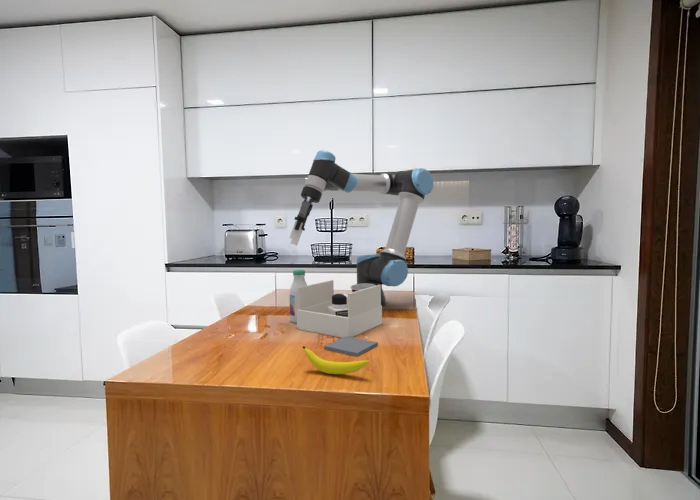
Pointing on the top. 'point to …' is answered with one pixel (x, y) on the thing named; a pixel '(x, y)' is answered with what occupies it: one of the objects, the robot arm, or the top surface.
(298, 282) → the milk bottle
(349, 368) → the banana
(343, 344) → the mat
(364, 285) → the plastic cup
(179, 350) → the top surface
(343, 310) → the medicine bottle
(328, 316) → the carton
